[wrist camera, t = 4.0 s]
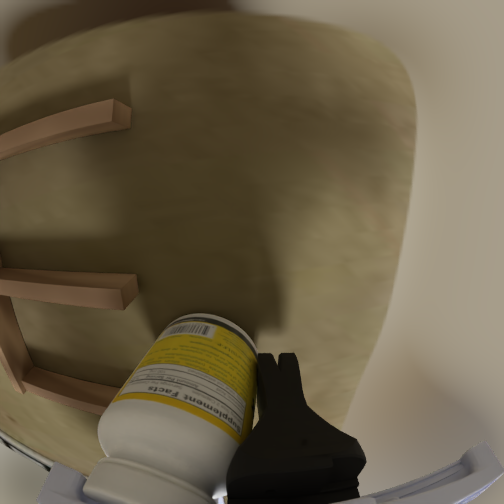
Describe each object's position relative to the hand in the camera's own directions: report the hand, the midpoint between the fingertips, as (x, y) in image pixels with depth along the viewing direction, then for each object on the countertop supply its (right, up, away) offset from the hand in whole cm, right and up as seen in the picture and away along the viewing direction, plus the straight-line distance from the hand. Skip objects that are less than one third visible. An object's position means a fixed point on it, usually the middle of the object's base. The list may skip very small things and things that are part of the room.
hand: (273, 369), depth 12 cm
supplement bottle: (-3, 0, +2) cm, 4 cm away
